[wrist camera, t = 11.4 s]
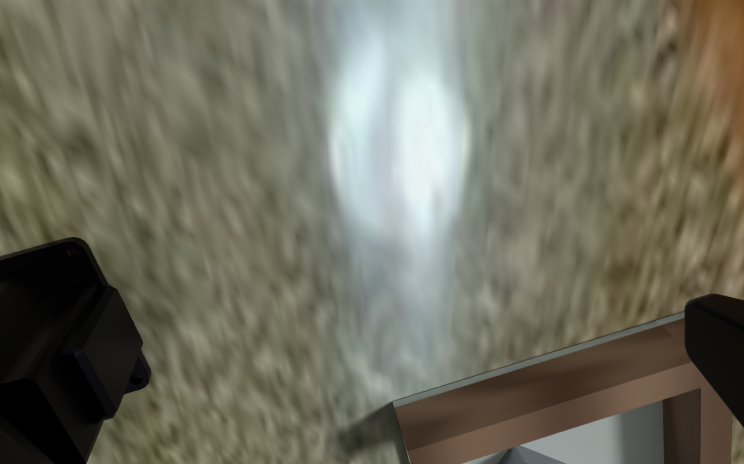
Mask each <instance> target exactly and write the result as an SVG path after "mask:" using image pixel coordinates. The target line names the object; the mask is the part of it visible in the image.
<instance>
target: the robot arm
mask: <svg viewBox="0 0 744 464" xmlns="http://www.w3.org/2000/svg"><path fill="white" fill-rule="evenodd" d="M67 248H73V249H75V250H77V252H78V253H79V257H73V256H71V255H70V254H69V253H68V252H67ZM684 344H685V349H686V352H687V355H688V356H689V358H690V360H691V361H692V363H693V364H694V365H695V366H696V368H697V369H698V370H699V371H700V373H701V374H702V375H703V377H704V378H705V379H706V380H707V382H708V383H709V384H710V385H711V387H712V388H713V389H714V391H715V392H716V393H717V394H718V396H719V397H720V398H721V399H722V401H723V402H724V403H725V405H726V406H727V407H728V408H729V410H730V411H731V412H732V413H733V415H734V416H735V417H736V419H737V420H738V421H739V422H740V424H741V425H742V426H743V427H744V300H741V299H736V298H732V297H728V296H724V295H719V294H708V295H705V296H701V297H698V298H695V299H692V300H690V301H688V302H687V303H686V305H685V309H684ZM142 345H143V341H142V338H141V336H140V334H139V332H138V330H137V328H136V326H135V324H134V322H133V320H132V318H131V316H130V314H129V312H128V310H127V308H126V306H125V304H124V302H123V300H122V298H121V296H120V294H119V292H118V290H117V289H116V288H114V287H112V286H111V285H108V283H107V281H106V279H105V277H104V275H103V273H102V271H101V269H100V267H99V265H98V263H97V261H96V259H95V257H94V255H93V253H92V251H91V249H90V247H89V246H88V244H87V243H86V242H85V241H84V240H82V239H80V238H76V237H70V238H66V239H62V240H58V241H55V242H51V243H48V244H44V245H41V246H37V247H34V248H30V249H26V250H23V251H19V252H16V253H12V254H9V255H5V256H1V257H0V464H86V463H87V461H88V458H89V456H90V454H91V451H92V449H93V446H94V444H95V441H96V439H97V436H98V434H99V431H100V429H101V426H102V424H103V421H105V420H108V419H111V418H113V417H114V416H115V414H116V412H117V410H118V408H119V405H120V403H121V400H122V397H123V395H124V394H127V393H130V392H133V391H137V390H140V389H142V388H144V387H146V386H147V385H148V383H149V380H150V377H151V369H150V367H149V365H148V363H147V361H146V359H145V357H144V355H143V353H142V351H141V347H142ZM132 374H139V375H141V376H142V378H135V377H133V376H132Z"/></svg>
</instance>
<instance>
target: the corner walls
mask: <svg viewBox="0 0 744 464" xmlns="http://www.w3.org/2000/svg"><path fill="white" fill-rule="evenodd" d="M682 313H683V312H682ZM675 315H676V314H675ZM673 318H674V317H673ZM678 318H679V317H678ZM661 320H662V319H661ZM655 322H656V321H655ZM656 323H657V322H656ZM650 324H651V322H650ZM645 325H647V326H648V324H645ZM654 325H655V324H654ZM639 326H640V325H639ZM639 326H638V327H639ZM647 326H646V327H647ZM650 326H651V325H650ZM634 328H635V327H634ZM638 329H640V328H638ZM627 330H629V329H626V330H625V331H627ZM633 330H634V329H633ZM641 330H642V329H641ZM625 331H623V332H625ZM634 331H635V330H634ZM636 331H637V330H636ZM628 332H629V331H628ZM632 332H633V331H632ZM618 333H620V332H618ZM616 334H617V332H616ZM611 335H612V334H611ZM613 335H614V334H613ZM619 335H620V334H619ZM608 336H610V335H608ZM614 336H615V335H614ZM618 337H619V336H618ZM601 338H603V337H601ZM605 338H606V336H605ZM597 339H598V338H597ZM599 339H600V338H599ZM595 340H596V339H595ZM605 340H606V339H605ZM606 341H607V340H606ZM606 341H605V343H601V342H600V343H601V344H598V345H595V344H594V345H595V346H591V347H590V346H589V348H585V349H584V348H583V349H582V350H579V351H576V352H573V353H569V354H566V355H563V356H560V357H556V358H553V357H552V359H550V360H547V361H544V362H543V361H542V362H540V363H537V364H534V365H531V366H527V367H526V366H524V368H521V369H518V370H517V369H516V368H515V369H516V370H514V371H511V372H508V373H505V372H504V373H505V374H502V375H498V376H495V377H492V378H489V379H485V380H482V381H479V382H476V383H473V384H469V385H466V386H463V387H460V388H456V389H453V390H450V391H447V392H442V393H440V394H437V395H434V396H431V397H427V398H424V397H423V398H424V399H421V400H418V401H414V402H411V403H408V404H405V405H402V406H398V407H395V408H394V409H395V412H396V416H397V419H398V423H399V426H400V430H401V433H402V436H403V440H404V443H405V446H406V450H407V453H408V456H409V459H410V463H411V464H463V463H466V462H469V461H472V460H475V459H478V458H481V457H484V456H488V455H491V454H494V453H497V452H500V451H503V450H506V449H510V448H513V447H516V446H519V445H522V444H525V443H528V442H532V441H535V440H538V439H541V438H544V437H547V436H550V435H554V434H557V433H560V432H563V431H566V430H569V429H572V428H576V427H579V426H582V425H585V424H588V423H591V422H594V421H598V420H601V419H604V418H607V417H610V416H613V415H616V414H619V413H623V412H626V411H629V410H632V409H635V408H638V407H641V406H645V405H648V404H651V403H654V402H657V401H660V400H663V438H664V464H731V443H732V420H733V413H732V412H731V411H730V410H729V408H728V407H727V406H726V405H725V403H724V402H723V401H722V399H721V398H720V397H719V396H718V394H717V393H716V392H715V391H714V389H713V388H712V387H711V385H710V384H709V383H708V382H707V380H706V379H705V378H704V377H703V375H702V374H701V373H700V371H699V370H698V369H697V368H696V366H695V365H694V364H693V363H692V361H691V360H690V358H689V356H688V355H687V352H686V349H685V344H684V318H682V319H679V320H676V321H673V322H669V323H666V324H663V325H660V326H656V327H654V326H653V328H648V329H646V330H645V329H644V330H643V331H640V332H637V333H633V334H631V335H627V336H623V337H619V338H618V339H615V340H611V341H608V342H606ZM587 342H588V341H587ZM588 343H589V342H588ZM595 343H597V342H595ZM578 345H579V344H578ZM582 345H583V343H582ZM589 345H591V344H589ZM592 345H593V343H592ZM579 347H580V346H579ZM570 348H571V347H570ZM579 349H580V348H579ZM561 350H562V349H561ZM530 364H531V363H530Z"/></svg>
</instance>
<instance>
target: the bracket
mask: <svg viewBox="0 0 744 464" xmlns="http://www.w3.org/2000/svg"><path fill="white" fill-rule="evenodd" d="M498 464H566V463H563V462H561V461H558V460H556V459H553V458H551V457H548V456H546V455H543V454H541V453H538V452H536V451H533V450H531V449H528V448H526V447H523V446H521V445H519V446H516V447H513V448H510V449H509V450H508V451H507V452H506V453H505V455H504V456H503V457H502V459H501V460H500V461H499V462H498Z"/></svg>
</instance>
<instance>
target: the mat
mask: <svg viewBox="0 0 744 464" xmlns="http://www.w3.org/2000/svg"><path fill="white" fill-rule="evenodd" d="M673 317H674V318H673ZM678 317H679V318H678ZM682 318H684V312H683V313H682V312H681V313H678V314H676V315H671V316H668V317H665V318H662V320H661V319H658V320H655V321H656V322H657V323H656V322H655V321H652V322H651V324H650V322H649V323H646V324H648V326H647V325H645V324H642V325H640V326H639V327H638V326H636V327H635V328H634V327H633V328H629V330H627V331H625V330H623V331H625V332H623V331H620V333H618V332H617V334H616V333H613V334H614V335H615V336H614V335H613V334H612V335H611V334H610V336H608V335H607V336H606V338H605V336H603V338H601V337H600V339H599V338H598V339H596V340H595V339H594V340H591V341H588V342H589V343H588V342H584V343H583V345H582V343H581V344H579V345H574V346H571V348H570V347H568V348H565V349H562V350H558V351H555V352H552V353H549V354H545V355H542V356H539V357H536V358H532V359H529V360H526V361H523V362H519V363H516V364H513V365H510V366H506V367H503V368H500V369H497V370H494V371H490V372H487V373H484V374H481V375H477V376H474V377H471V378H468V379H464V380H461V381H458V382H455V383H451V384H448V385H445V386H442V387H439V388H435V389H432V390H429V391H426V392H422V393H419V394H416V395H413V396H409V397H406V398H403V399H400V400H396V401H393V405H394V408H395V407H398V406H402V405H405V404H408V403H411V402H414V401H418V400H421V399H424V398H427V397H431V396H434V395H437V394H440V393H442V392H447V391H450V390H453V389H456V388H460V387H463V386H466V385H469V384H473V383H476V382H479V381H482V380H485V379H489V378H492V377H495V376H498V375H502V374H505V373H508V372H511V371H514V370H516V369H517V370H518V369H521V368H524V366H526V367H527V366H531V365H534V364H537V363H540V362H542V361H543V362H544V361H547V360H550V359H552V357H553V358H556V357H560V356H563V355H566V354H569V353H573V352H576V351H579V350H582V349H583V348H584V349H585V348H589V346H590V347H591V346H595V345H598V344H601V343H605V341H606V340H607V341H606V342H608V341H611V340H615V339H618V338H619V337H623V336H627V335H631V334H633V333H637V332H640V331H643V330H644V329H645V330H646V329H648V328H653V326H654V327H656V326H660V325H663V324H666V323H669V322H673V321H676V320H679V319H682ZM654 324H655V325H654ZM650 325H651V326H650ZM646 326H647V327H646ZM638 328H640V329H638ZM633 329H634V330H635V331H634V330H633ZM641 329H642V330H641ZM636 330H637V331H636ZM628 331H629V332H628ZM632 331H633V332H632ZM619 334H620V335H619ZM618 336H619V337H618ZM605 339H606V340H605ZM595 342H597V343H595ZM600 342H601V343H600ZM592 343H593V345H592ZM589 344H591V345H589ZM594 344H595V345H594ZM579 346H580V347H579ZM579 348H580V349H579ZM530 363H531V364H530ZM515 368H516V369H515ZM504 372H505V373H504ZM423 397H424V398H423ZM402 437H403V436H402ZM404 444H405V443H404ZM521 446H523V447H526V448H528V449H531V450H533V451H536V452H538V453H541V454H543V455H546V456H548V457H551V458H553V459H556V460H558V461H561V462H563V463H566V464H664V438H663V400H660V401H657V402H654V403H651V404H648V405H645V406H641V407H638V408H635V409H632V410H629V411H626V412H623V413H619V414H616V415H613V416H610V417H607V418H604V419H601V420H598V421H594V422H591V423H588V424H585V425H582V426H579V427H576V428H572V429H569V430H566V431H563V432H560V433H557V434H554V435H550V436H547V437H544V438H541V439H538V440H535V441H532V442H528V443H525V444H522V445H521ZM405 447H406V446H405ZM508 450H509V449H506V450H503V451H500V452H497V453H494V454H491V455H488V456H484V457H481V458H478V459H475V460H472V461H469V462H466V463H463V464H498V462H499V461H500V460H501V459H502V457H503V456H504V455H505V453H506V452H507V451H508ZM406 451H407V450H406ZM407 455H408V453H407ZM408 458H409V456H408ZM409 462H410V459H409ZM410 464H411V463H410Z"/></svg>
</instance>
